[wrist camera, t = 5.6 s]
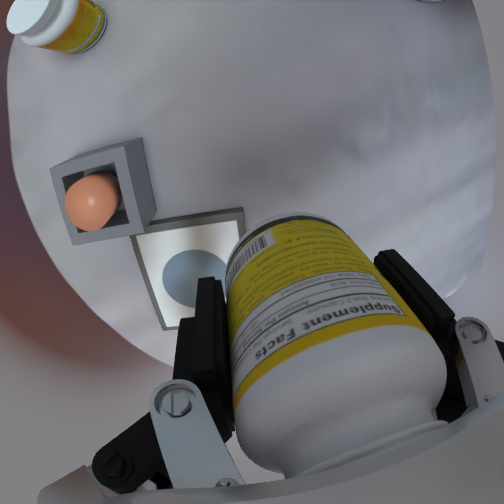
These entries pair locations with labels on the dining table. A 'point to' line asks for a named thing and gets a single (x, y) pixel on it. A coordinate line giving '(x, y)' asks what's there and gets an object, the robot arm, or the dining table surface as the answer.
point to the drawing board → (185, 258)
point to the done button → (93, 200)
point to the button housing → (131, 184)
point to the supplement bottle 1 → (57, 24)
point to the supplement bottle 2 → (323, 351)
